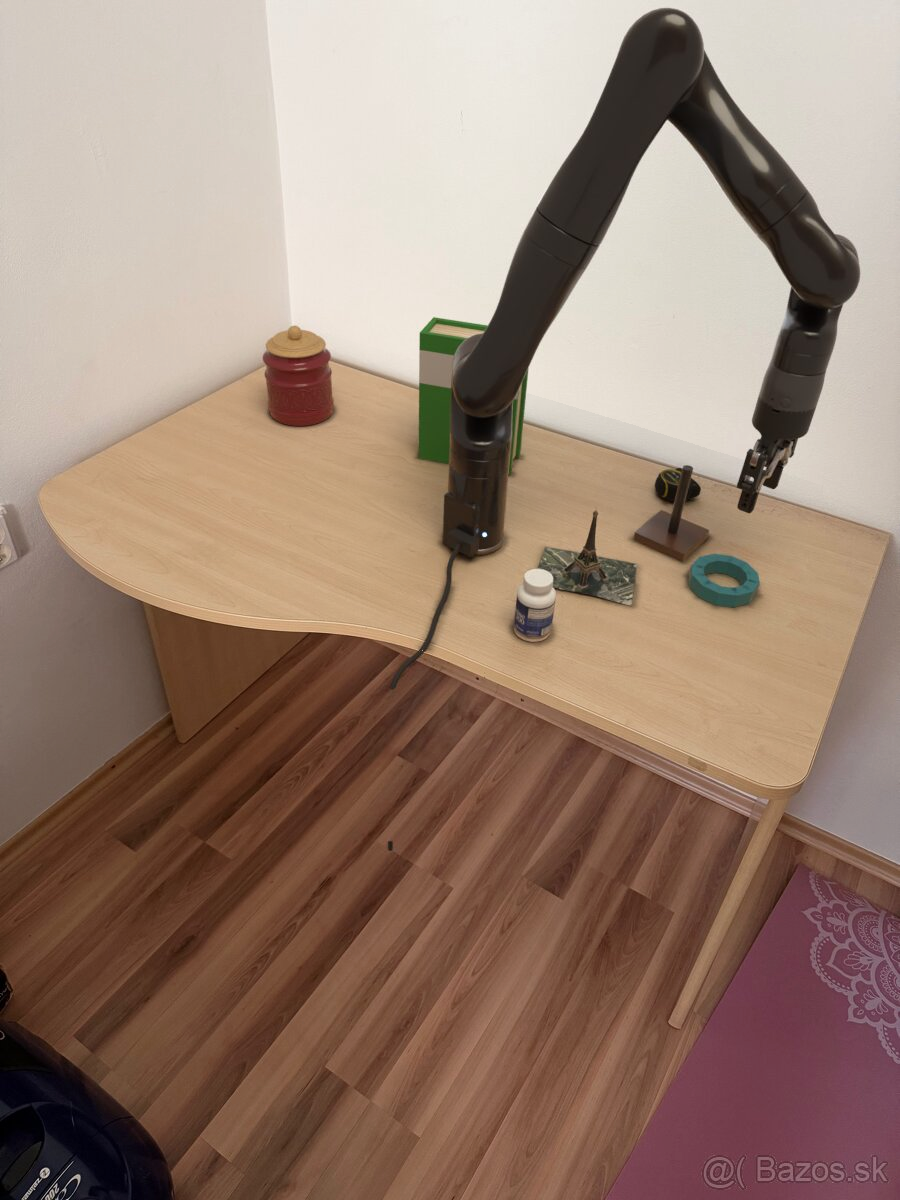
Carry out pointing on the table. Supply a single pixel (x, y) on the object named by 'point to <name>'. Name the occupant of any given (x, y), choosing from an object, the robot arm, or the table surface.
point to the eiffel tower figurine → (590, 571)
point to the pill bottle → (535, 606)
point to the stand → (673, 526)
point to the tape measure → (674, 485)
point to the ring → (720, 593)
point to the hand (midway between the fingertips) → (757, 498)
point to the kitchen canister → (298, 378)
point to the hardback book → (436, 389)
